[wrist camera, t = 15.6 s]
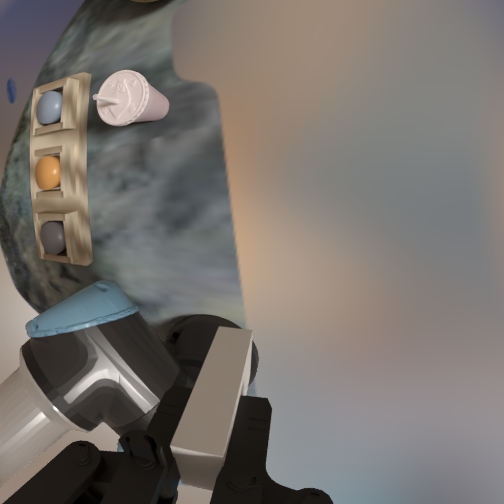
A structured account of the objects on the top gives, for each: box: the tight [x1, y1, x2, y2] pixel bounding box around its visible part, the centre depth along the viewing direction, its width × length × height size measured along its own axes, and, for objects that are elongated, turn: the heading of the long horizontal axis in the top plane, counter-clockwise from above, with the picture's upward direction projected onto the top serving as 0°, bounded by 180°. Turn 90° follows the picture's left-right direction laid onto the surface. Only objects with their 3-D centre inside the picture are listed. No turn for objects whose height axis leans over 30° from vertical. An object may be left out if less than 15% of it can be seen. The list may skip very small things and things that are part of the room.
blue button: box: [36, 91, 63, 124], centre depth 32 cm, size 5×5×2 cm
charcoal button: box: [40, 220, 67, 255], centre depth 38 cm, size 5×5×2 cm
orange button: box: [35, 156, 61, 190], centre depth 35 cm, size 5×5×2 cm
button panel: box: [30, 72, 94, 266], centre depth 37 cm, size 30×12×4 cm, turn 177°
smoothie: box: [93, 70, 169, 126], centre depth 28 cm, size 6×6×14 cm
